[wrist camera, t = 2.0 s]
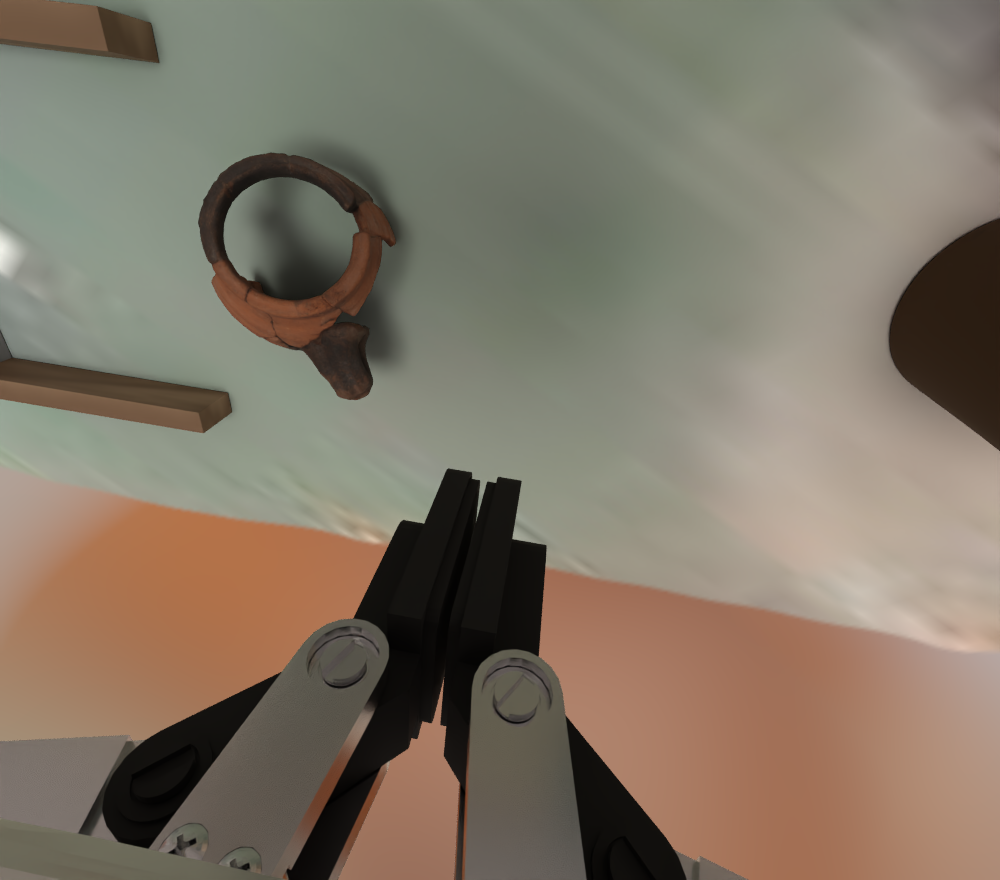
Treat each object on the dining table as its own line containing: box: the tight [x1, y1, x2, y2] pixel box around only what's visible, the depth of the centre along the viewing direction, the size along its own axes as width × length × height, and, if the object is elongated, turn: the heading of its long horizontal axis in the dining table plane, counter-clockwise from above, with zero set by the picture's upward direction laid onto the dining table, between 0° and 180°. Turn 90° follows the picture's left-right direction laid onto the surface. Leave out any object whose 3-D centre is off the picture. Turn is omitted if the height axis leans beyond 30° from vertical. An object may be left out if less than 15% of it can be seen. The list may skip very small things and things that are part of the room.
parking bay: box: [0, 0, 232, 433], centre depth 27 cm, size 21×18×3 cm
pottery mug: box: [198, 153, 396, 400], centre depth 26 cm, size 12×10×8 cm
